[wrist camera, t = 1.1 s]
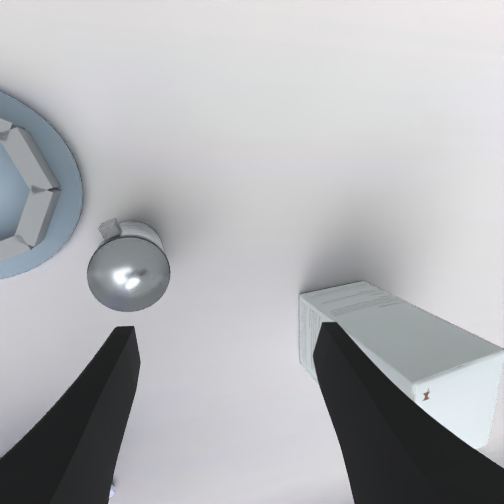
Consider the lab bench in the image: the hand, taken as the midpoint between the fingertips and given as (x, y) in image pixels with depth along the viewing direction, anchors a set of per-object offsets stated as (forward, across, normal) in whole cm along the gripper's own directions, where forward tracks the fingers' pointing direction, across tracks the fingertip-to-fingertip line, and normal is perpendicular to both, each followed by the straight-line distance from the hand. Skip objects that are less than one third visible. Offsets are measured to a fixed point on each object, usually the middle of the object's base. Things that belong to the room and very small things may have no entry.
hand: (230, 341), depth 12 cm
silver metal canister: (+11, +6, +3) cm, 13 cm away
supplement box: (+12, -11, +11) cm, 20 cm away
